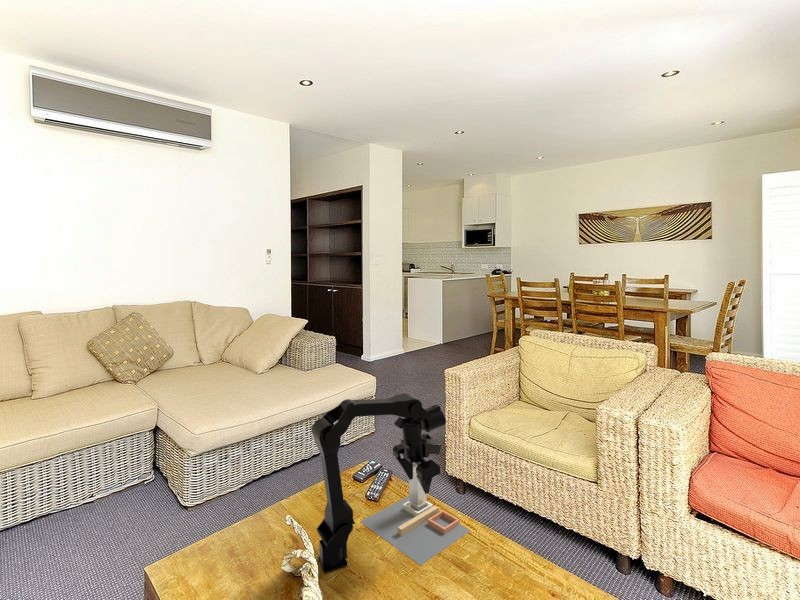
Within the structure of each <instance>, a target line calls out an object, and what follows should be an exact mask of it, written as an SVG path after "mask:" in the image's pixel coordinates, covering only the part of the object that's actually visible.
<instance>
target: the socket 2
mask: <svg viewBox="0 0 800 600" xmlns="http://www.w3.org/2000/svg"><path fill="white" fill-rule="evenodd" d="M441 517H445V518H447V519H448V520H450V521H452V522H453V523H451V524H449V525H448V526H446V527H445V528H444V527H442V526H441V525H439V524H437V523H436V522H435V521H436V520H438V519H439V518H441ZM460 521H461V520H460V519H459V518H457V517H455V516H454V515H452V514H451V513H449V512H447V511H446V510H443V509H442V510H441V511H439V513H437V514H436V515H434V516H432V517H431V518H429V519H428V524H429V525H430V526H432V527H433V528H435V529H437V530H438V531H440V532H442V533H443V534H446V533H448V532H449V531H451V530H452V529H454V528H455V527H457V526H458V525H461V523H460Z"/></svg>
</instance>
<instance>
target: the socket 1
mask: <svg viewBox="0 0 800 600" xmlns="http://www.w3.org/2000/svg"><path fill="white" fill-rule="evenodd" d="M433 506H434V504H433V503H431V502H429V501H427V507H425V508H424V509H422V510H420V511H418V512H417V511H416V510H414V509H412V508H411V507H409V501H408V502H406V503H404V504H403V509H404V510H406V511H407V512H409V513H411V514H412V515H414V516H418V515H419V514H421V513H423V512H425V511H426V510H428V509H430V508H431V507H433Z"/></svg>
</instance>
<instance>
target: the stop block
mask: <svg viewBox="0 0 800 600" xmlns="http://www.w3.org/2000/svg"><path fill="white" fill-rule="evenodd" d="M417 466H418V465H417ZM417 466H413V479H411V480H410V479H409V478H408V496H409V507H411V508H412V509H414V510H416V511H417V512H418V511H420V510H422V509H424V508H425V507H427V502H428V499H427V497H428V496H427V495H428V493H427V494H425V492H424V491H423V489H422V487H421V485H420V482H419V480H418V478H417V476H416V475H417V473H416V467H417Z"/></svg>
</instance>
